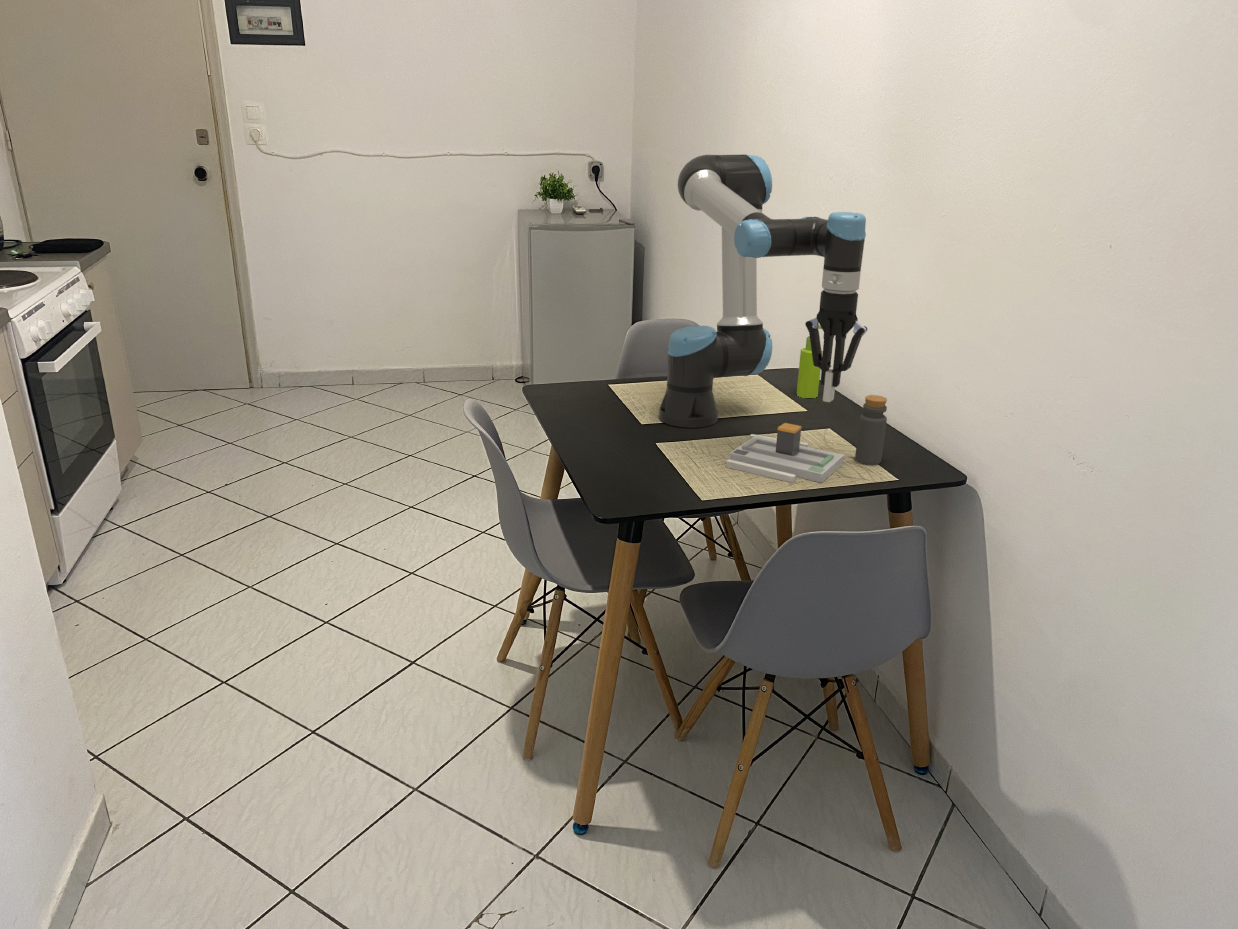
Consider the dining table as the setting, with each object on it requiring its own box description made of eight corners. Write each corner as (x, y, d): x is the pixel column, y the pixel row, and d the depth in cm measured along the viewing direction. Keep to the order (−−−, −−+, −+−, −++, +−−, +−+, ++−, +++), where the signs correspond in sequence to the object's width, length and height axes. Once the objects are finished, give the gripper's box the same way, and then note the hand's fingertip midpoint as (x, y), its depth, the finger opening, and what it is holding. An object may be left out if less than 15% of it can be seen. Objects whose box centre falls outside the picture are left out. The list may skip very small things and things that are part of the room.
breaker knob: (775, 452, 199) (777, 427, 197) (782, 447, 202) (784, 422, 200) (792, 456, 197) (794, 430, 195) (799, 451, 201) (801, 426, 198)
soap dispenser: (823, 399, 246) (830, 328, 239) (798, 398, 246) (805, 327, 239) (819, 392, 252) (826, 323, 244) (794, 392, 252) (801, 323, 245)
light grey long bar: (725, 466, 197) (726, 461, 197) (728, 465, 199) (728, 459, 198) (792, 483, 189) (793, 476, 189) (795, 480, 191) (796, 474, 190)
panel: (729, 461, 201) (729, 449, 200) (754, 443, 212) (755, 432, 211) (821, 482, 190) (822, 470, 189) (843, 463, 201) (844, 451, 200)
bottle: (876, 467, 199) (885, 403, 194) (851, 461, 202) (859, 398, 196) (884, 459, 204) (892, 397, 198) (859, 454, 207) (867, 392, 201)
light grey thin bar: (749, 441, 213) (749, 435, 213) (751, 439, 215) (751, 433, 214) (806, 450, 208) (807, 445, 208) (808, 448, 209) (808, 443, 209)
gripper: (803, 289, 182) (793, 399, 191) (864, 296, 176) (851, 409, 184) (816, 284, 188) (806, 391, 197) (876, 291, 182) (863, 401, 190)
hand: (828, 400), depth 191 cm, fingers closed
